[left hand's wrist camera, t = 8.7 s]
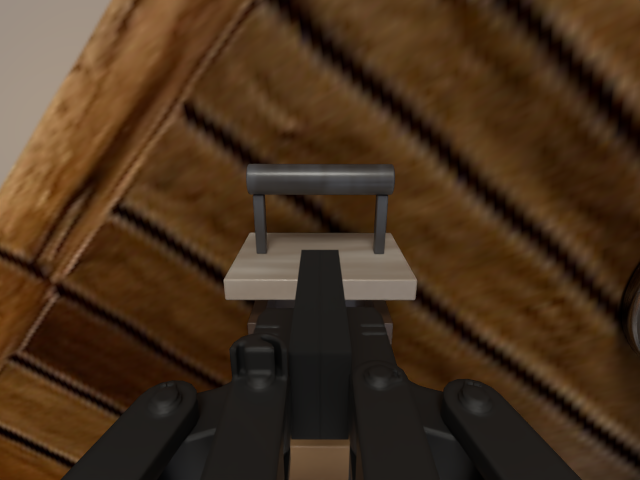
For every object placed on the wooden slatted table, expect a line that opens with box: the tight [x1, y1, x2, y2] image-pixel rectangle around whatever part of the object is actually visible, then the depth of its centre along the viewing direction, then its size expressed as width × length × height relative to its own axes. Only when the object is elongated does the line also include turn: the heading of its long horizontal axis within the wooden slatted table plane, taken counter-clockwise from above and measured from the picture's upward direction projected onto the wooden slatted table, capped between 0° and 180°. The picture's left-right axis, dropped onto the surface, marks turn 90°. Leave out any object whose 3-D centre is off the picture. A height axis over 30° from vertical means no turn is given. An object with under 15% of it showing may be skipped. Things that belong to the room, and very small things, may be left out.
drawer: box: [224, 164, 417, 344], centre depth 24 cm, size 24×10×7 cm, turn 0°
